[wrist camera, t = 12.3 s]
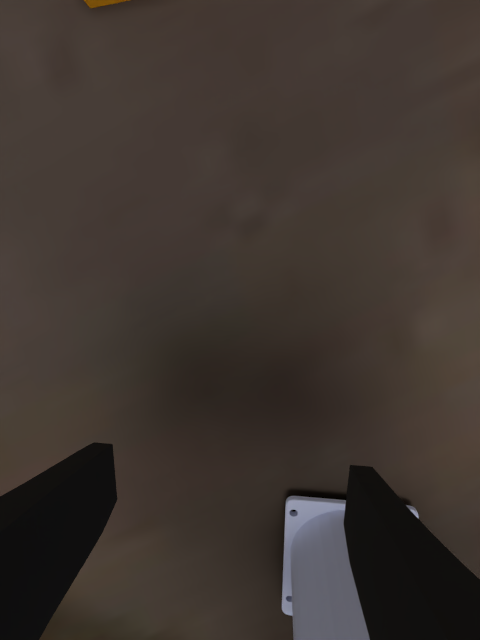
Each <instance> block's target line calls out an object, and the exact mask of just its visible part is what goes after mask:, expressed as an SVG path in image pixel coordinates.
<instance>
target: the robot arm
mask: <svg viewBox="0 0 480 640" xmlns="http://www.w3.org/2000/svg"><path fill="white" fill-rule="evenodd" d="M116 501H117V492H116V480H115V469H114V457H113V445H112V444H104V443H92V444H90V445H88V446H86V447H85V448H83V449H81V450H79V451H78V452H76V453H74V454H73V455H71V456H69V457H68V458H66V459H64V460H63V461H61V462H59V463H58V464H56V465H54V466H53V467H51V468H49V469H47V470H46V471H44V472H42V473H41V474H39V475H37V476H36V477H34V478H32V479H31V480H29V481H27V482H26V483H24V484H22V485H20V486H18V487H17V488H15V489H13V490H11V491H9V492H8V493H6V494H4V495H2V496H0V640H39V639H40V637H41V635H42V633H43V632H44V630H45V628H46V626H47V624H48V623H49V621H50V619H51V617H52V616H53V614H54V612H55V611H56V609H57V607H58V606H59V604H60V602H61V601H62V599H63V598H64V596H65V594H66V593H67V591H68V589H69V588H70V586H71V584H72V583H73V581H74V579H75V578H76V576H77V574H78V573H79V571H80V569H81V568H82V566H83V564H84V563H85V561H86V559H87V558H88V556H89V554H90V553H91V551H92V549H93V548H94V546H95V544H96V543H97V541H98V539H99V537H100V536H101V534H102V532H103V530H104V528H105V526H106V523H107V521H108V519H109V517H110V515H111V512H112V510H113V508H114V506H115V503H116ZM291 510H296V511H295V512H292V511H291ZM418 518H419V516H418V513H417V511H416V509H415V508H414V507H413V506H409V505H405V504H404V503H403V502H402V500H401V499H400V498H399V497H398V496H397V495H396V494H395V493H394V491H393V490H392V489H391V488H390V487H389V486H388V484H387V483H386V482H385V481H384V480H383V479H382V478H381V476H380V475H379V474H378V473H377V472H376V471H375V470H374V469H373V467H367V466H356V465H350V471H349V479H348V488H347V497H346V500H338V499H327V498H315V497H303V496H290V497H288V498H287V499H286V505H285V532H284V559H283V586H282V611H283V612H284V613H285V614H287V615H292V616H293V640H480V579H478V578H477V577H476V576H475V575H474V574H473V573H472V572H471V571H470V570H469V569H468V568H467V567H465V566H464V565H463V564H462V563H461V562H460V561H459V560H458V559H457V558H456V557H455V556H454V555H453V554H452V553H451V552H450V551H449V550H448V549H447V548H446V547H445V546H444V545H443V544H442V543H441V542H440V541H439V540H438V539H437V538H436V537H435V536H434V535H433V534H432V533H431V532H430V531H429V530H428V529H427V528H426V527H425V526H424V524H423V523H422V522H421V521H420V520H419V519H418Z"/></svg>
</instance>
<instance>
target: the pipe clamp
mask: <svg viewBox="0 0 480 640" xmlns="http://www.w3.org/2000/svg"><path fill="white" fill-rule="evenodd" d="M84 1H85V2H86V4H87V5H88V6H89V7H90V8H95V7H100V6H105V5H109V4H114V3H119V2H124V1H129V0H84Z"/></svg>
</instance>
